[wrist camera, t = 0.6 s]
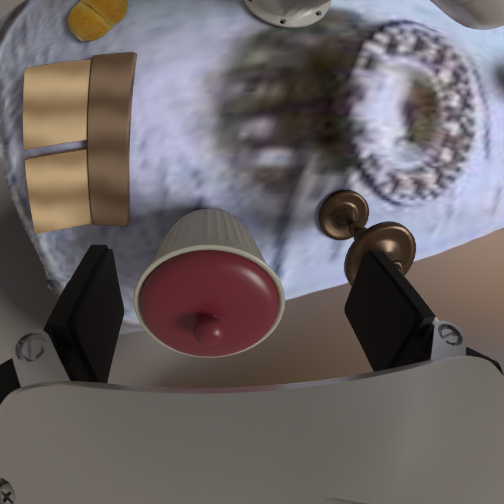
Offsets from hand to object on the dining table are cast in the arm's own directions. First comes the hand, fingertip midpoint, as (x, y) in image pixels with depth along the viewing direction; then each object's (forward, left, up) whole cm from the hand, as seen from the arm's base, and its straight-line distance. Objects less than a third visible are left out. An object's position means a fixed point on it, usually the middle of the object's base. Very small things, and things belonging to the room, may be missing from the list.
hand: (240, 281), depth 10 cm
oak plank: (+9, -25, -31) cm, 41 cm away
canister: (+18, 0, -34) cm, 38 cm away
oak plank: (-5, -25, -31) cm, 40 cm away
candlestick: (+11, +22, -34) cm, 42 cm away
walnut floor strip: (+2, -16, -34) cm, 37 cm away
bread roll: (-18, -20, -34) cm, 43 cm away
